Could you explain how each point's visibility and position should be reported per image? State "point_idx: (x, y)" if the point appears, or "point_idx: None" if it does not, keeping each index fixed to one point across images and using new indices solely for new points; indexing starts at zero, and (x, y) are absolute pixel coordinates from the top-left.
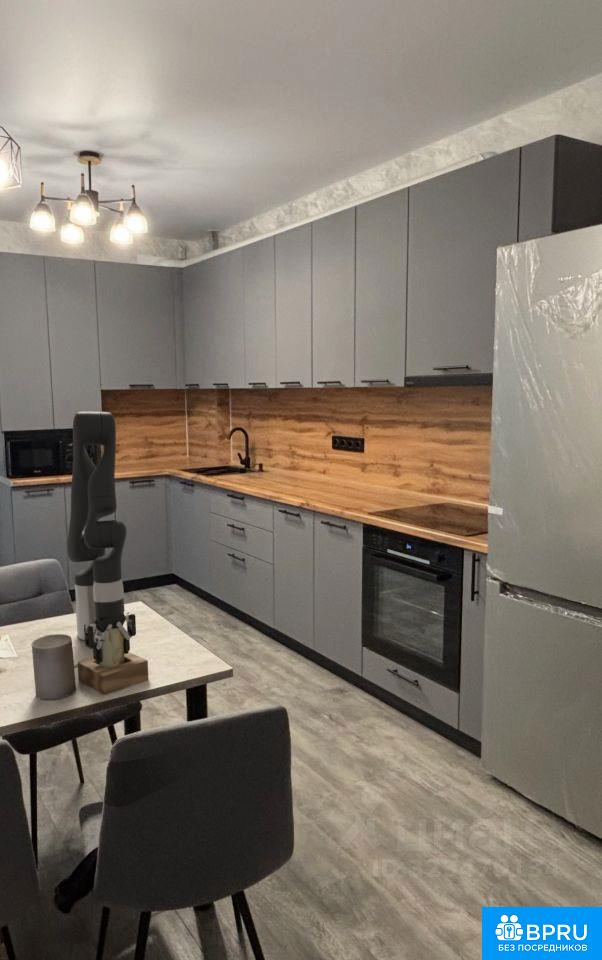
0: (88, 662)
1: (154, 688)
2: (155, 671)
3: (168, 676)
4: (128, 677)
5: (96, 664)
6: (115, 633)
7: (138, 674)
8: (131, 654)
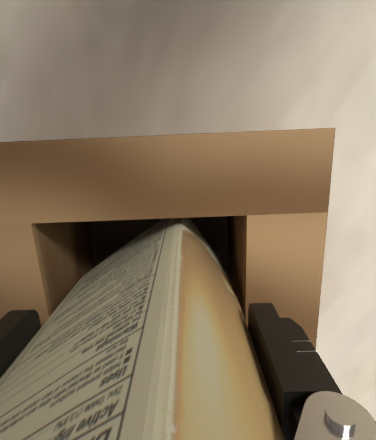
0: (2, 218)
1: None
2: (350, 303)
3: (347, 380)
4: None
5: (36, 292)
6: None
7: None
8: (304, 302)
